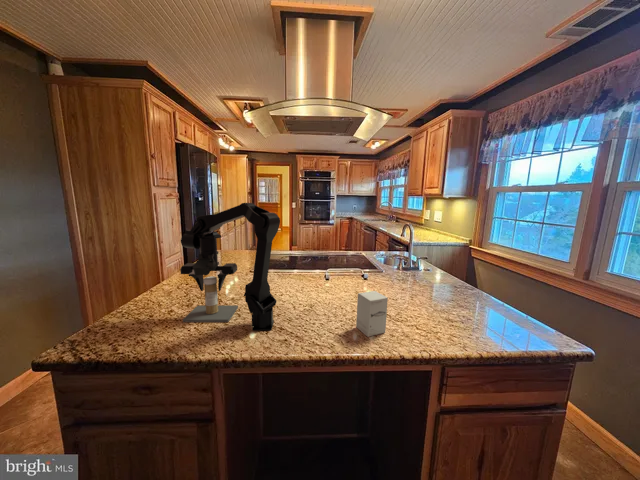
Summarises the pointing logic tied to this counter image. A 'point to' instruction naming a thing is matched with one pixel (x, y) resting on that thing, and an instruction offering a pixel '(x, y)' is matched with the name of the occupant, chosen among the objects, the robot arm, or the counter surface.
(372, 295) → the supplement box
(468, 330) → the counter surface
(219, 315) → the gray tray
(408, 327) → the counter surface
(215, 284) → the sprinkles bottle
